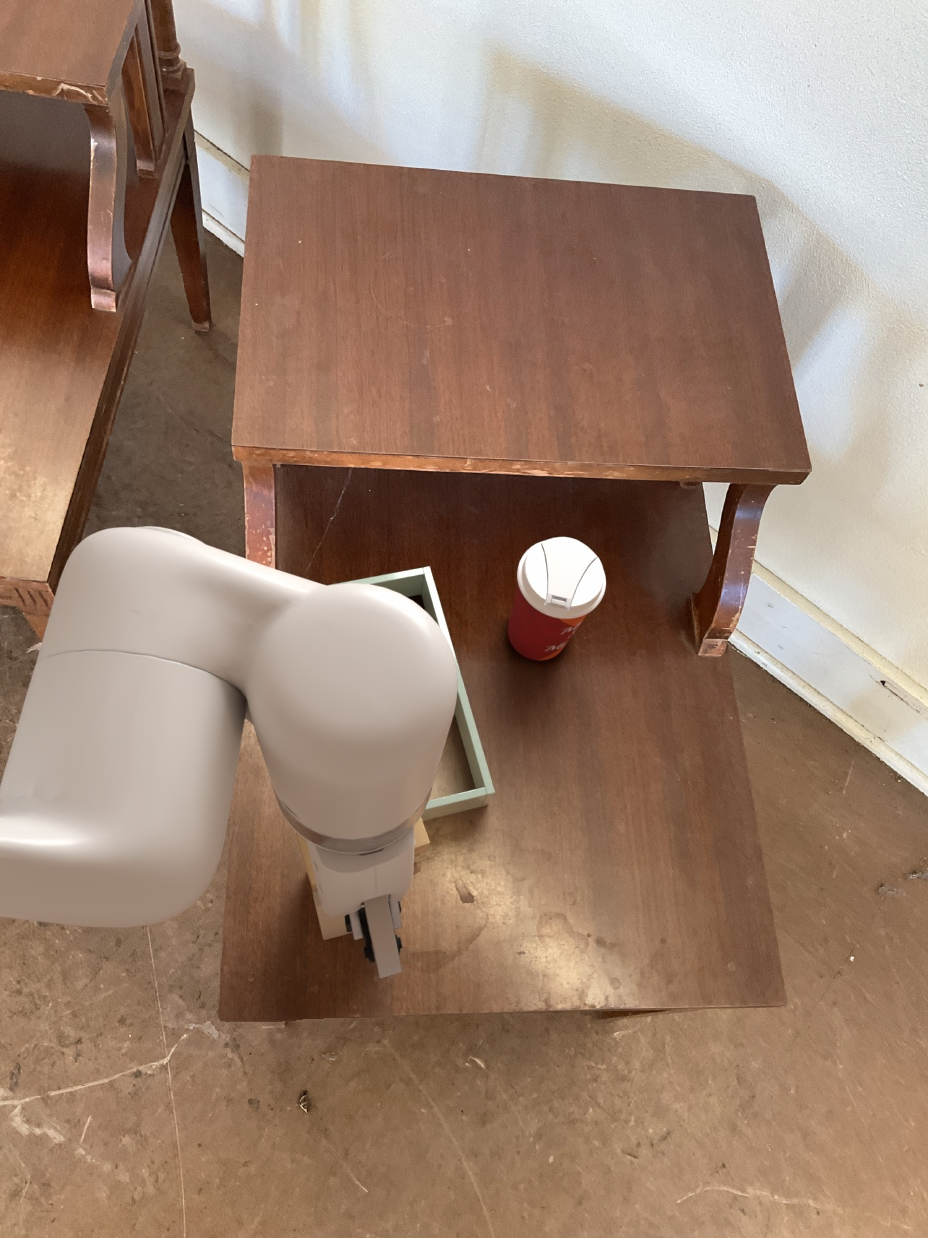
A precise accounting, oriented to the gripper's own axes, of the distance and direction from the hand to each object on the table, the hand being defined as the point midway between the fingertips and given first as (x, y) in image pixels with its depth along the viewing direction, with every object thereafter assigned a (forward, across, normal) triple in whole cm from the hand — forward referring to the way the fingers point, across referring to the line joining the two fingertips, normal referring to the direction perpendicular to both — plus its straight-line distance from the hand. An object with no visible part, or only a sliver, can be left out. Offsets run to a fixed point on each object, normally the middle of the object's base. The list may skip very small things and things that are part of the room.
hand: (354, 843), depth 57 cm
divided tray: (+22, -16, +7) cm, 28 cm away
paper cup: (+22, -20, +22) cm, 37 cm away
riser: (+22, 0, 0) cm, 22 cm away
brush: (+2, 0, 0) cm, 2 cm away
